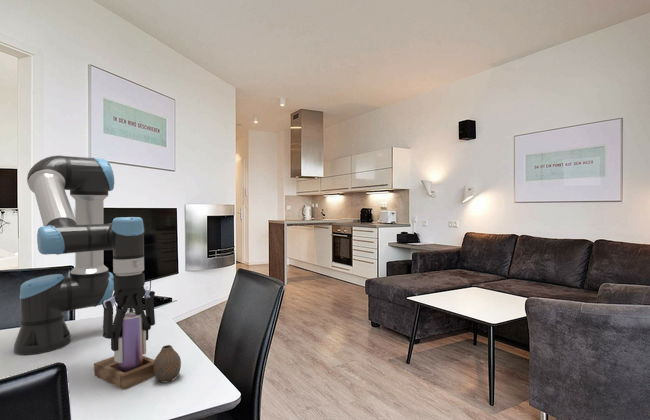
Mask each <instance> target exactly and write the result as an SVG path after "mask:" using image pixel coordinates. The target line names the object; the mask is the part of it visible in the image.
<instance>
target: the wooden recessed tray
mask: <svg viewBox="0 0 650 420" xmlns="http://www.w3.org/2000/svg"><path fill="white" fill-rule="evenodd" d="M154 361H155V359H153V358H150V357H148V356H145V355H143V366H141V367H138V368H135V369H133V370H130V371H128V372H125V373H124V372H122V371H119V370H118V362H116V361H114V356H110V357H108V358H105V359H102V360H99V361H97V362H94V363H93V373H94V374H93V376H94V377H96V378H99V379H100V380H103V381H104V382H106V383H108V384H111V385H113V386H114V387H118V388H119V389H121V390H126V389H129V388H131V387H134V386H135V385H138V384H140V383H143V382H145V381H147V380H151V379H152V378H156V377H155V375H154V372H153V365H154Z"/></svg>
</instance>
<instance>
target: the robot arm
mask: <svg viewBox="0 0 650 420" xmlns="http://www.w3.org/2000/svg"><path fill="white" fill-rule="evenodd" d="M26 181H27V185H28V188H29V190H30V191H31V192H32V193H33V194H34V196H35V199H36V203H37V207H38V210H39V211H38V212H39V214H40V217H41V221H42V222H41V223H42V224H43V225H42V226H39V228H38V229H37V233H36V242H37V250H38V253H40V254H41V255H46V256H47V255H58V256H59V255H65V254H75V266H74V268H72V269H71V270H70V274H69V275H70V276H68V277H65V276H64V275H63V274H62V273H61V274H60V273H55V274H48V275H42V276H38V277H33V278H31V279H29V280H26V281H24V282H23V283H22V284H21V285H20V287H19V288H20V290H19V291H20V292H19V299H20V304H19V305H20V327H19V331H18V333H17V336H16V339H15V341H14V344H13V349H14V350H13V351H14V353H15V354H17V355H24V356H25V355H35V354H36V355H37V354H42V353H47V352H51V351H54V350H58V349H60V348H63V347H65V346H67V345H69V344H70V343H71V342H72V341H71V340H72V339H71V332H70V330H69V328H68V325H67V323H66V321H65V312H68V311H69V312H70V311H74V310H81V309H86V308H91V307H92V308H93V307H95V308H96V307H97V306H101V305H102V308H103V315H102V316H103V317H102V318H103V320H102V321H103V322H102V323H103V324H102V337H103V338H105V339H108V340H110V349H111V351H113V353H114V354H113V355H114V361H116V362H118V363H122V362H123V350H122V338H121V337H119V336H120V332H121V328H122V322H123V318H124V317H125V313H128V311H129V310H128V309H130V307H133V311H134V312H135V313H138V314H141V316H142V340H143V355H147V341H148V340H149V331H150V330H151V329H152V326H154V325H156V317H155V304H154V299H155V294H156V291H153V290H150V289H149V290H146V289H145V273H144V271H145V235H144V234H145V225H144V220H143V218H142V217H140V216H138V217H137V216H127V217H125V216H124V217H123V216H121V217H115V218H113V220H112V222H111V223H110V222H109V223H104V217H105V216H104V207H105V206H104V201H105V199H106V198H107V197H109V192H111V191H113V190H114V189H115V188H114V187H115V175H114V170H113V168H112V166H111V163H110V162H109V161H108V160H106V159H104V158H97V157H83V156H71V155H70V156H67V155H51V156H47V157H45V158H43V159H40V160H39V161H38V162H36V163H35V164H34V165H32V167H31V168H30V169H29V171H28V174H27V178H26ZM66 191H69V196H70V197H71V198H72V199H74V204H75V206H74V209H75V211H74V212H73V208H72V206H71V203H70V200H69V199H68V195H67V192H66ZM104 251H112V268H113V269H112V272H110V271H109V267H107V266H106V265H105V264H104V260H105V259H104ZM143 298H144V305H143V301H142V299H143ZM115 303H116V308H115V311H116V312H115V315H114V306H115ZM143 307H144V308H143ZM144 309H145V310H144Z"/></svg>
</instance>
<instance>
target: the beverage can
mask: <svg viewBox="0 0 650 420" xmlns="http://www.w3.org/2000/svg"><path fill="white" fill-rule="evenodd" d="M119 337H121V338H122V350H123V362H122V363H118V370H119V371H122V372H124V373H125V372H128V371H130V370H133V369H135V368H138V367H141V366H143V356H144V354H143V340H142V316H141V314H138V313H135V311H133V312H130V313H129V312H126V313H125V317H124V318H123V322H122V328H121V332H120V336H119Z"/></svg>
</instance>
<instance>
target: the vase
mask: <svg viewBox="0 0 650 420" xmlns="http://www.w3.org/2000/svg"><path fill="white" fill-rule="evenodd" d="M154 360H155V361H154V365H153V372H154V375H155V377H154V378H155V379H156V380H157V381H159V382H161V383H168V382H172V381H174V380H176V378H177V377H178V375H179V374H180V371H181V367H182V361H181V357H180V355H179V353H178V352H177V350H175V349H174V348H173V346H172V345H171V344H166V345H163V346H162V347H161V349H160V351H159V352H158V353H157V355H156V356H155V359H154Z"/></svg>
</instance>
